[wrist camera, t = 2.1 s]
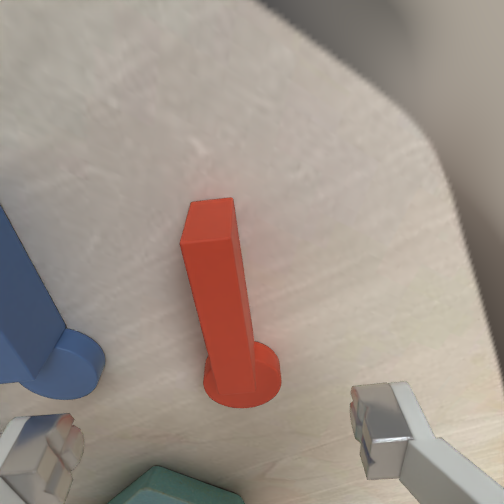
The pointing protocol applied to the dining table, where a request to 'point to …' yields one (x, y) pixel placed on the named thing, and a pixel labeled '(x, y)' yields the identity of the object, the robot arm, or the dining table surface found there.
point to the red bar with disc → (225, 309)
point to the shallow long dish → (172, 490)
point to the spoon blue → (39, 331)
